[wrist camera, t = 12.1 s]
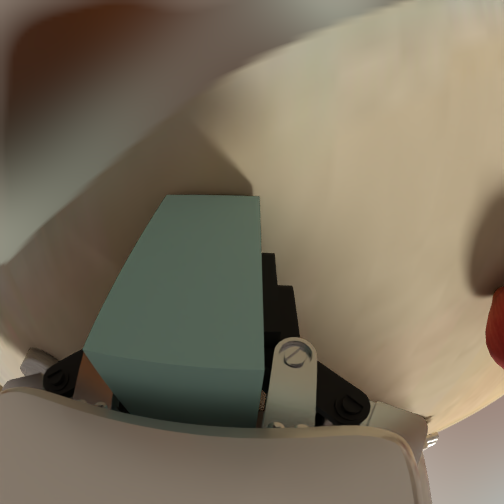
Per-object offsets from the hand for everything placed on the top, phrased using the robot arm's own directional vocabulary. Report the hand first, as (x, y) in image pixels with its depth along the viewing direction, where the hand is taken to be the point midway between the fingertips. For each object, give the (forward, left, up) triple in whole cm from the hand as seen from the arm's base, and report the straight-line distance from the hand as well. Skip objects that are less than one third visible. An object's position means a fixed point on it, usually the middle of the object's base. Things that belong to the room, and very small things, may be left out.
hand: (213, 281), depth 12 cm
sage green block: (0, +6, -1) cm, 6 cm away
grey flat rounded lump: (+17, +13, -1) cm, 22 cm away
